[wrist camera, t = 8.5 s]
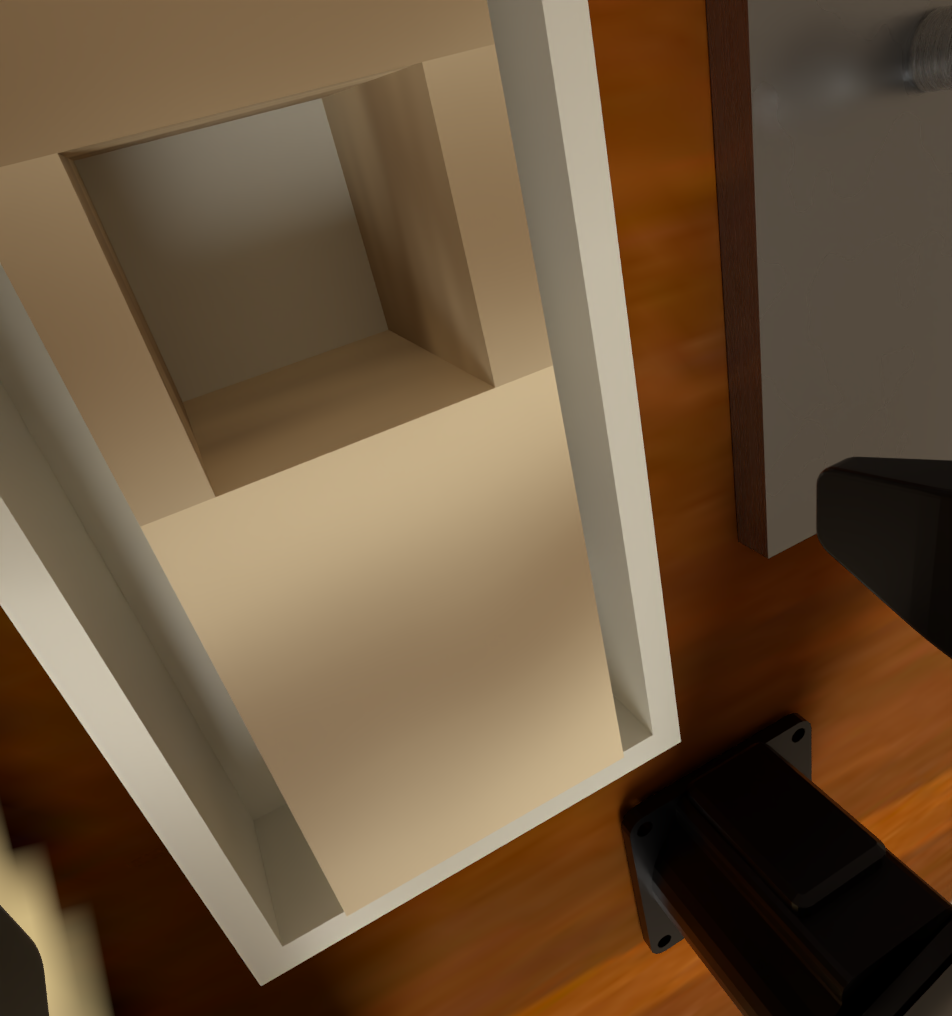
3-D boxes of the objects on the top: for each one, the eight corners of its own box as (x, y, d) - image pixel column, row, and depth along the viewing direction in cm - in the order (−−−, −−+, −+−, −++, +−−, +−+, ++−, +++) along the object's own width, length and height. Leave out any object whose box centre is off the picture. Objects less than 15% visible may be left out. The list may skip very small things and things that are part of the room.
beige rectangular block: (514, 634, 16) (624, 757, 12) (291, 746, 14) (346, 917, 11) (338, -50, 10) (456, -165, 7) (-65, 29, 9) (-172, -62, 5)
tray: (586, 648, 18) (680, 741, 15) (230, 832, 15) (260, 986, 12) (413, -227, 10) (538, -390, 7) (-348, -125, 8) (-621, -304, 5)
